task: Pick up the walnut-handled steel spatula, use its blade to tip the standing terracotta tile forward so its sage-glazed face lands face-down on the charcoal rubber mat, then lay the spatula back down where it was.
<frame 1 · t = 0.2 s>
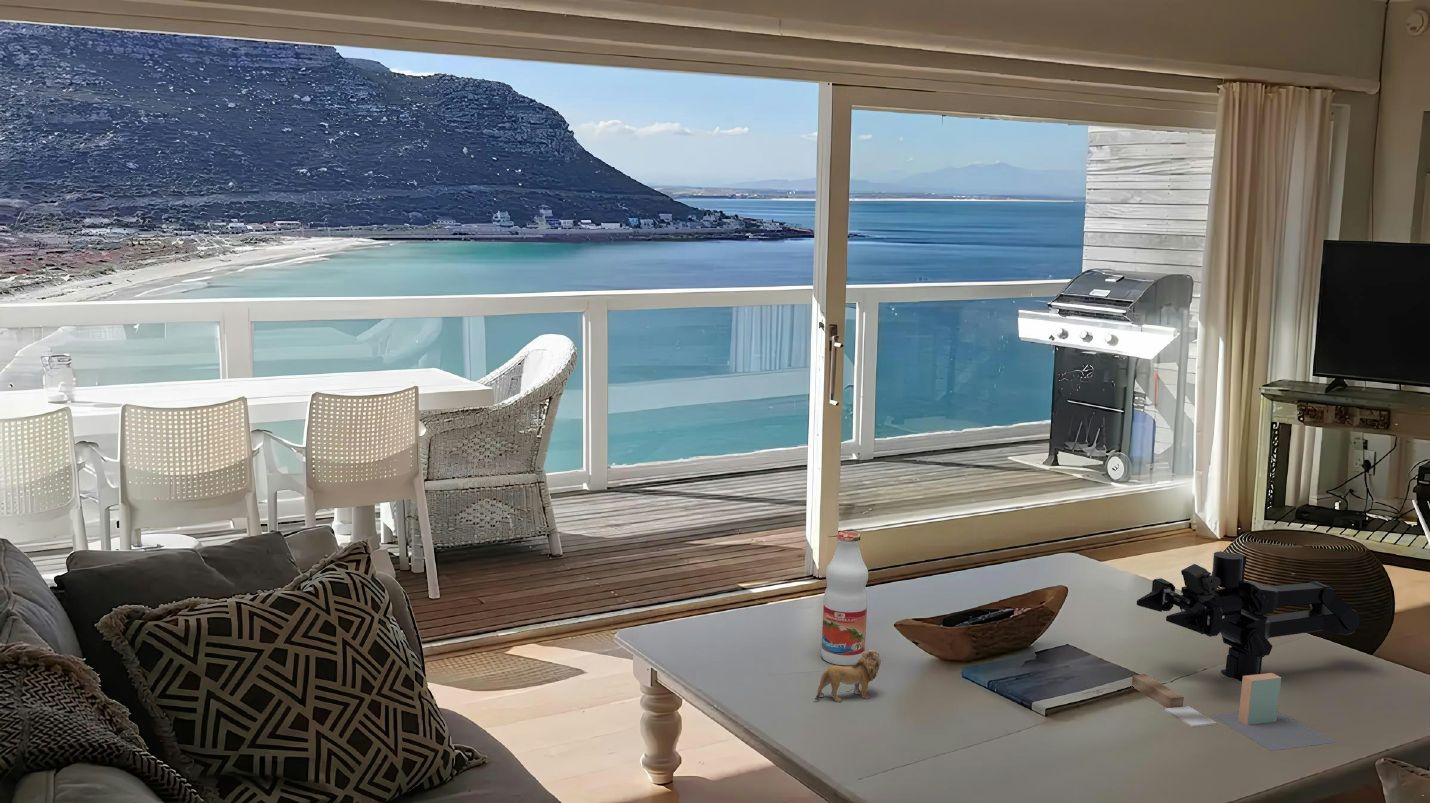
hand: (1151, 610, 238), 17 cm above the table, fingers open, 9 cm apart
lion figurine: (847, 696, 231), on the table
tile: (1257, 720, 225), resting on mat
mat: (1270, 730, 221), on the table
spatula: (1156, 699, 235), on the table
fruit juice: (842, 659, 251), on the table
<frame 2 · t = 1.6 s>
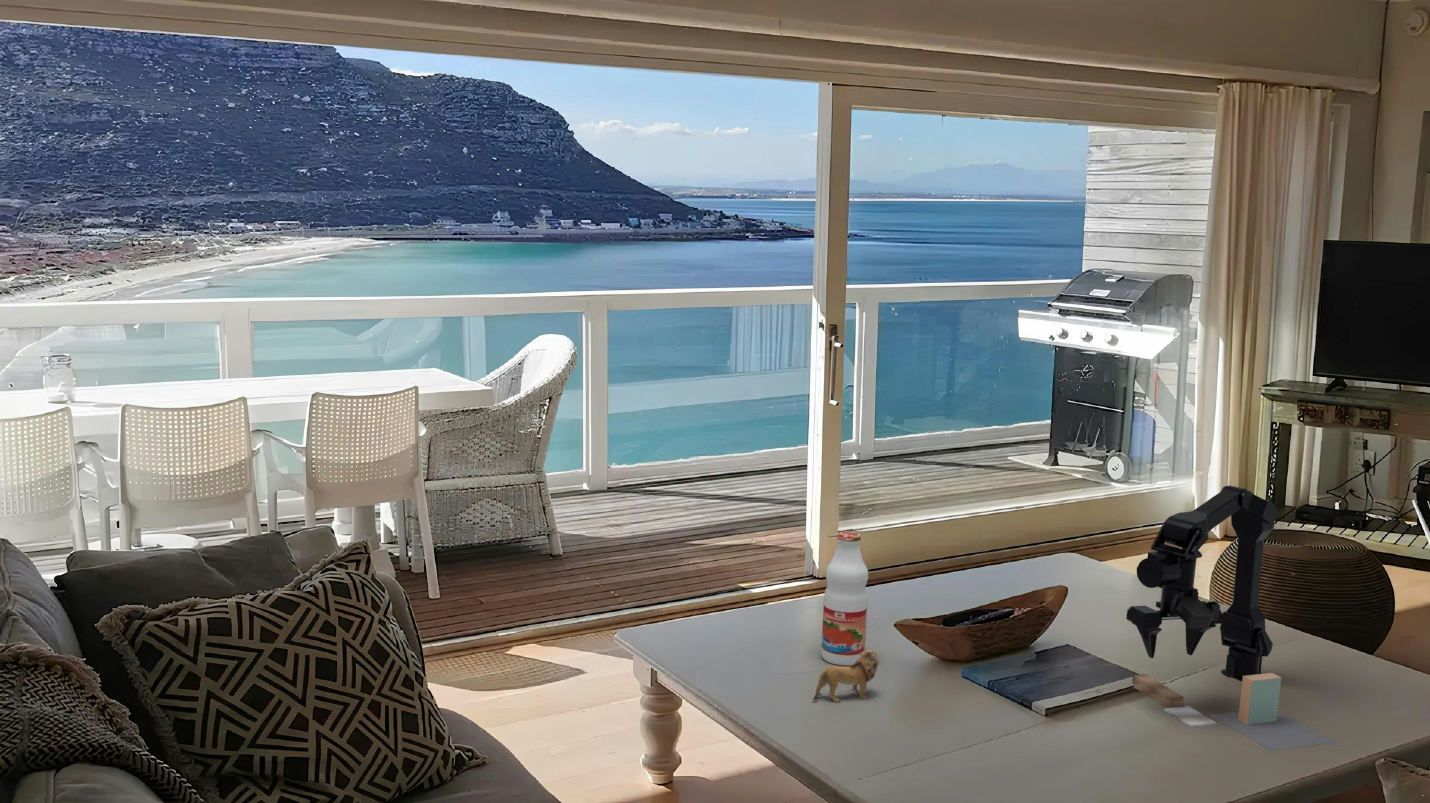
hand: (1170, 656, 230), 10 cm above the table, fingers open, 9 cm apart
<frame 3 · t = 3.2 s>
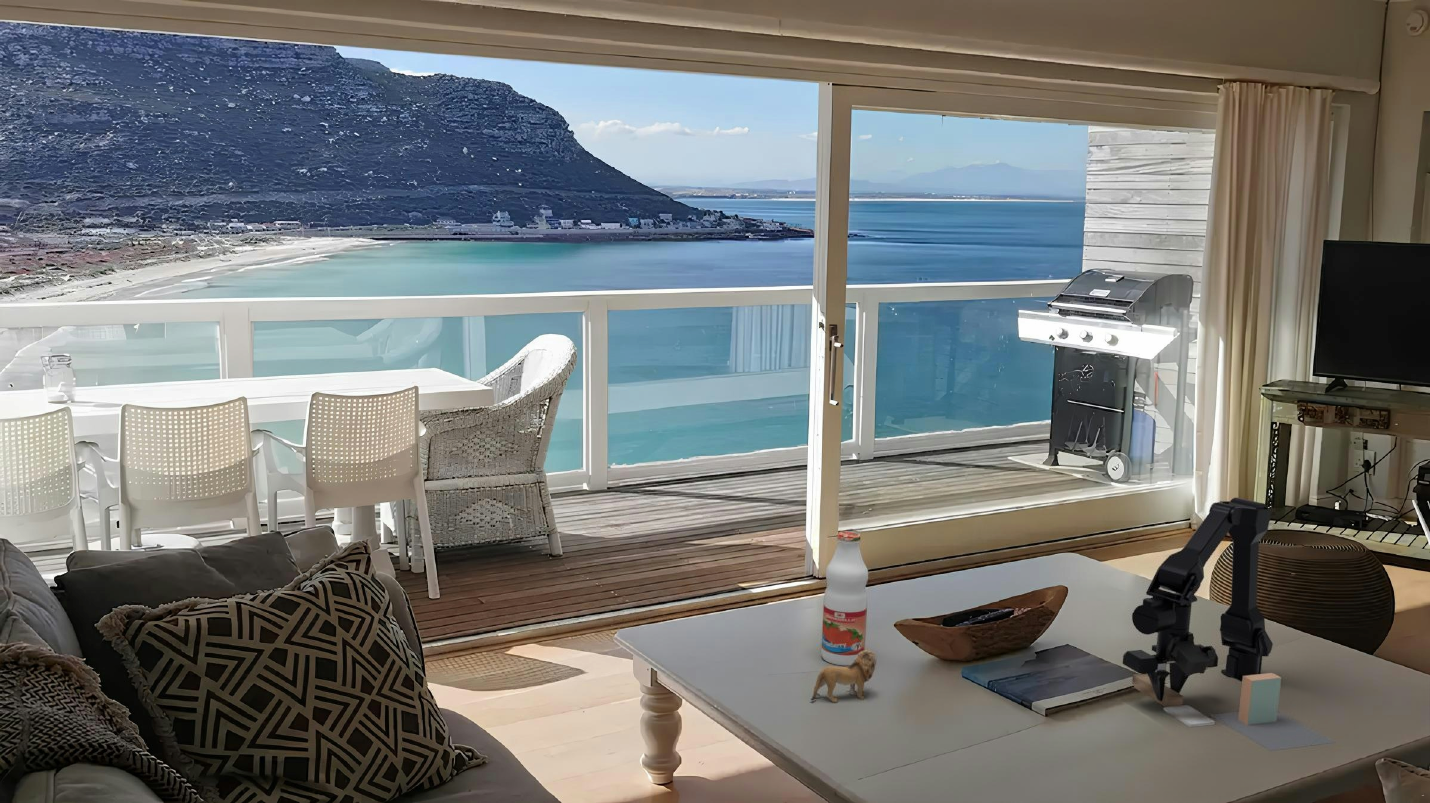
hand: (1166, 699, 232), 1 cm above the table, fingers closed on spatula, 3 cm apart
spatula: (1156, 698, 235), on the table, touching gripper
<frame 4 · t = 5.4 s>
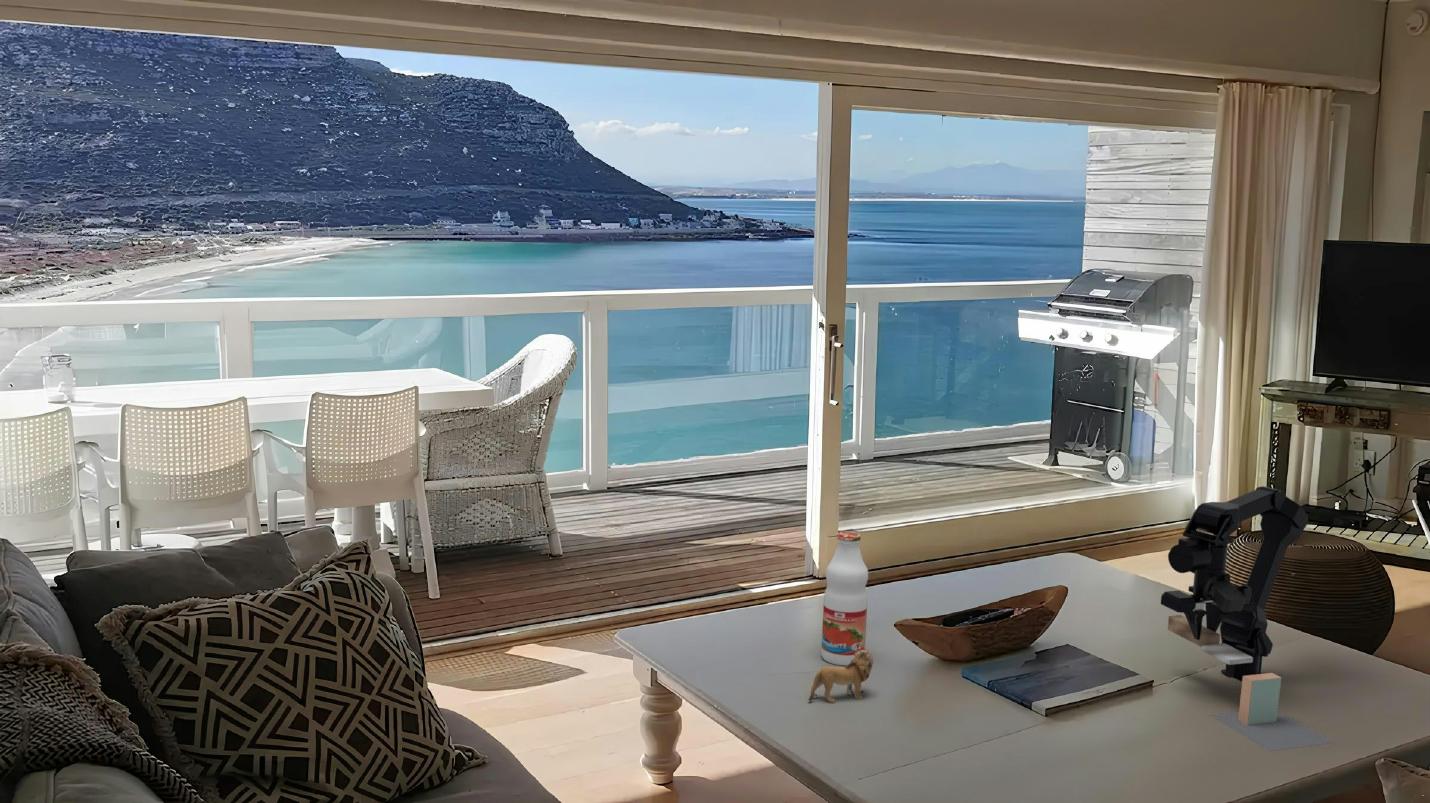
hand: (1203, 638, 238), 11 cm above the table, fingers closed on spatula, 3 cm apart
spatula: (1192, 638, 242), point 10 cm above the table, touching gripper
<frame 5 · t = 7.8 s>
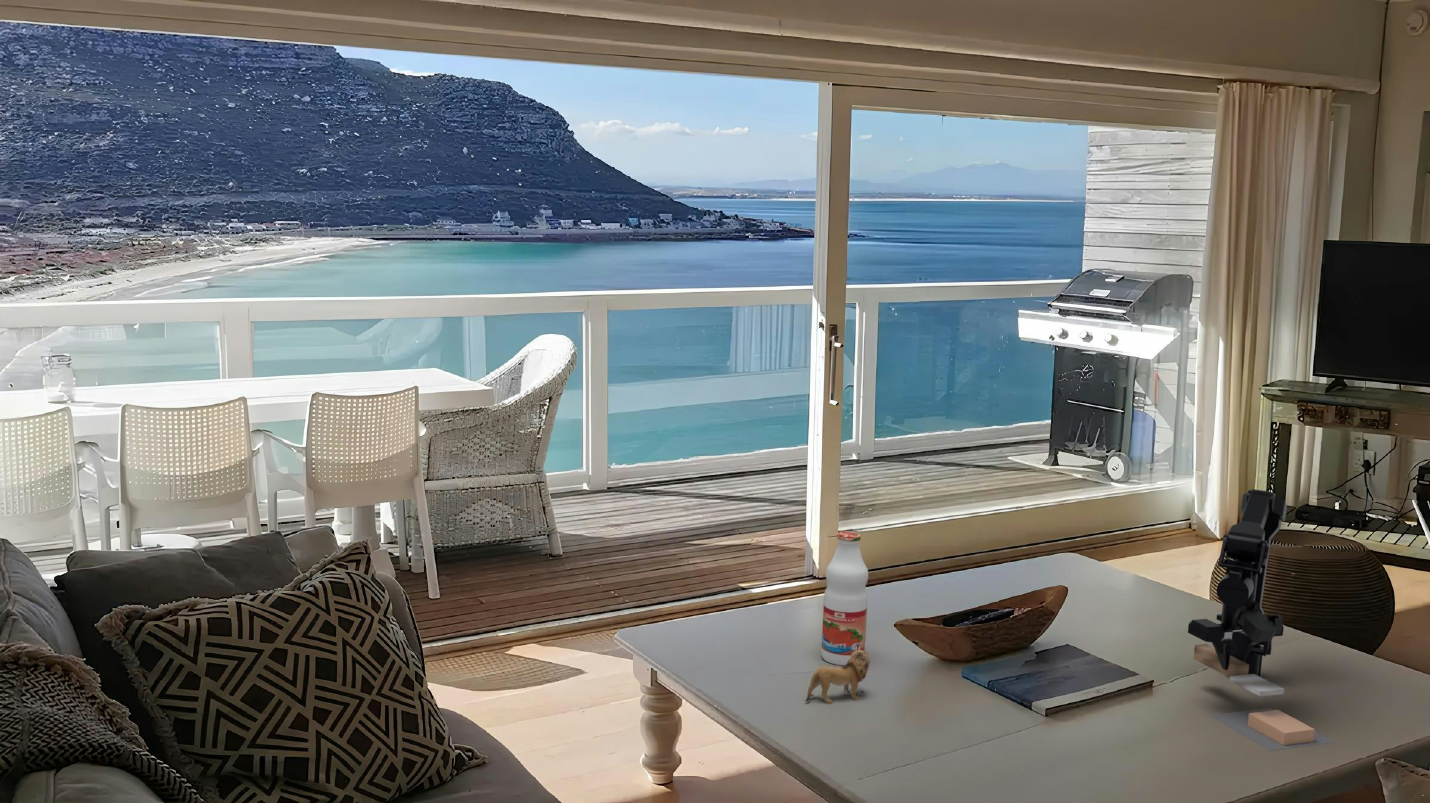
hand: (1231, 668, 231), 8 cm above the table, fingers closed on spatula, 3 cm apart
tile: (1263, 717, 223), point 2 cm above the table, tilted 90°, touching mat
spatula: (1220, 668, 234), point 7 cm above the table, touching gripper
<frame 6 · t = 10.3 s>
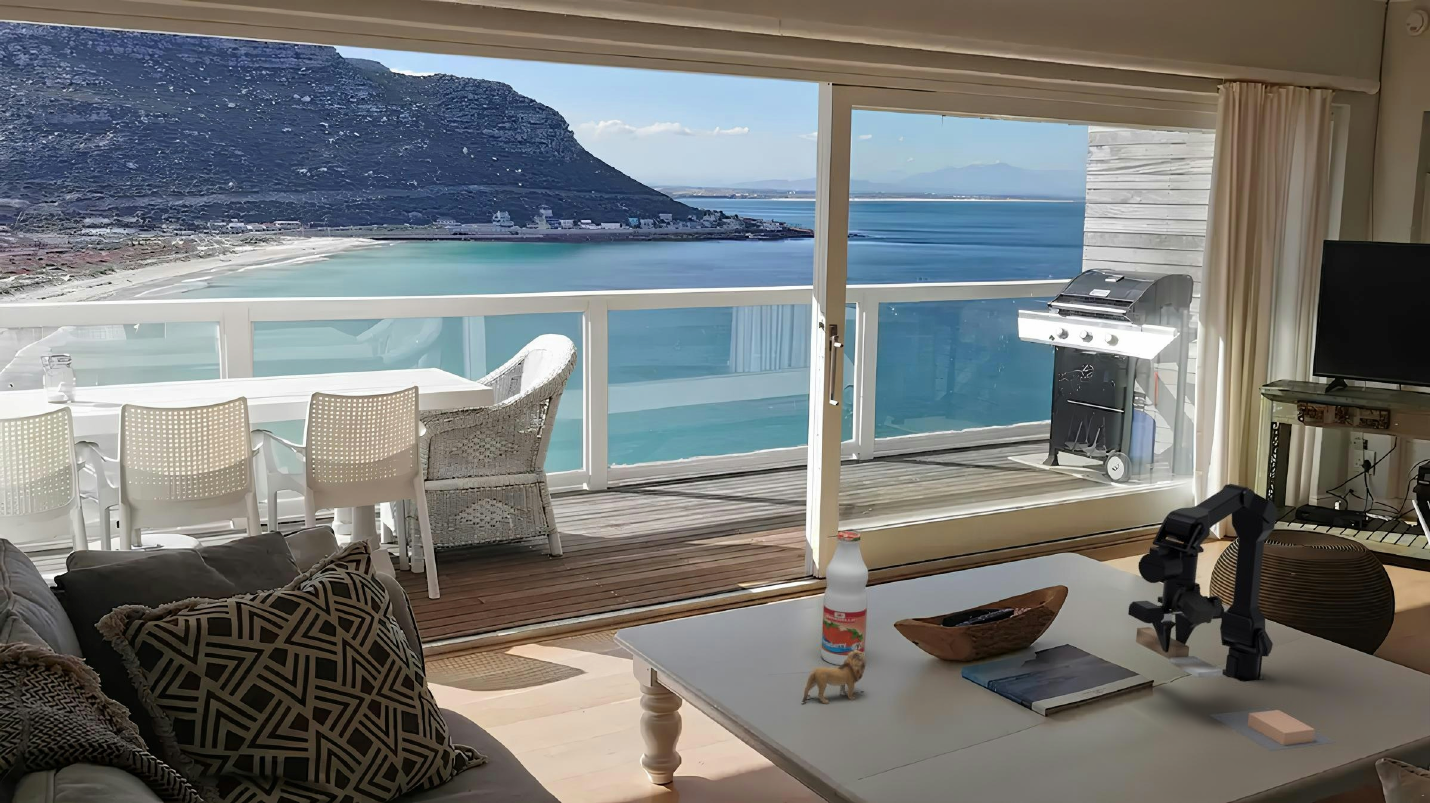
hand: (1172, 651, 230), 11 cm above the table, fingers closed on spatula, 3 cm apart
spatula: (1161, 651, 233), point 10 cm above the table, touching gripper
when the fingers open (2 cm above the table, at t = 12.2 s): spatula drops 1 cm, on the table.
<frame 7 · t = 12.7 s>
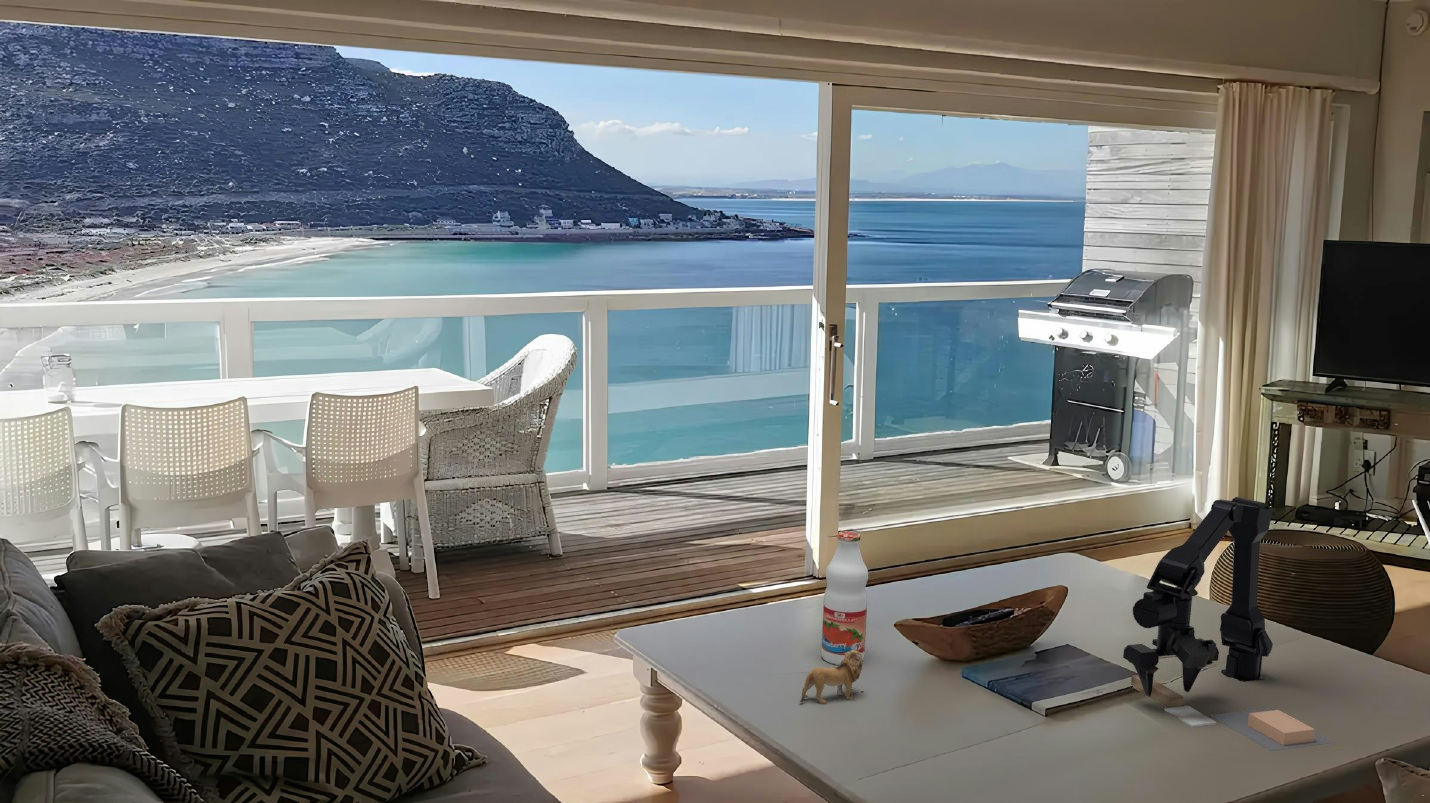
hand: (1167, 693, 231), 2 cm above the table, fingers open, 9 cm apart
spatula: (1155, 699, 235), on the table
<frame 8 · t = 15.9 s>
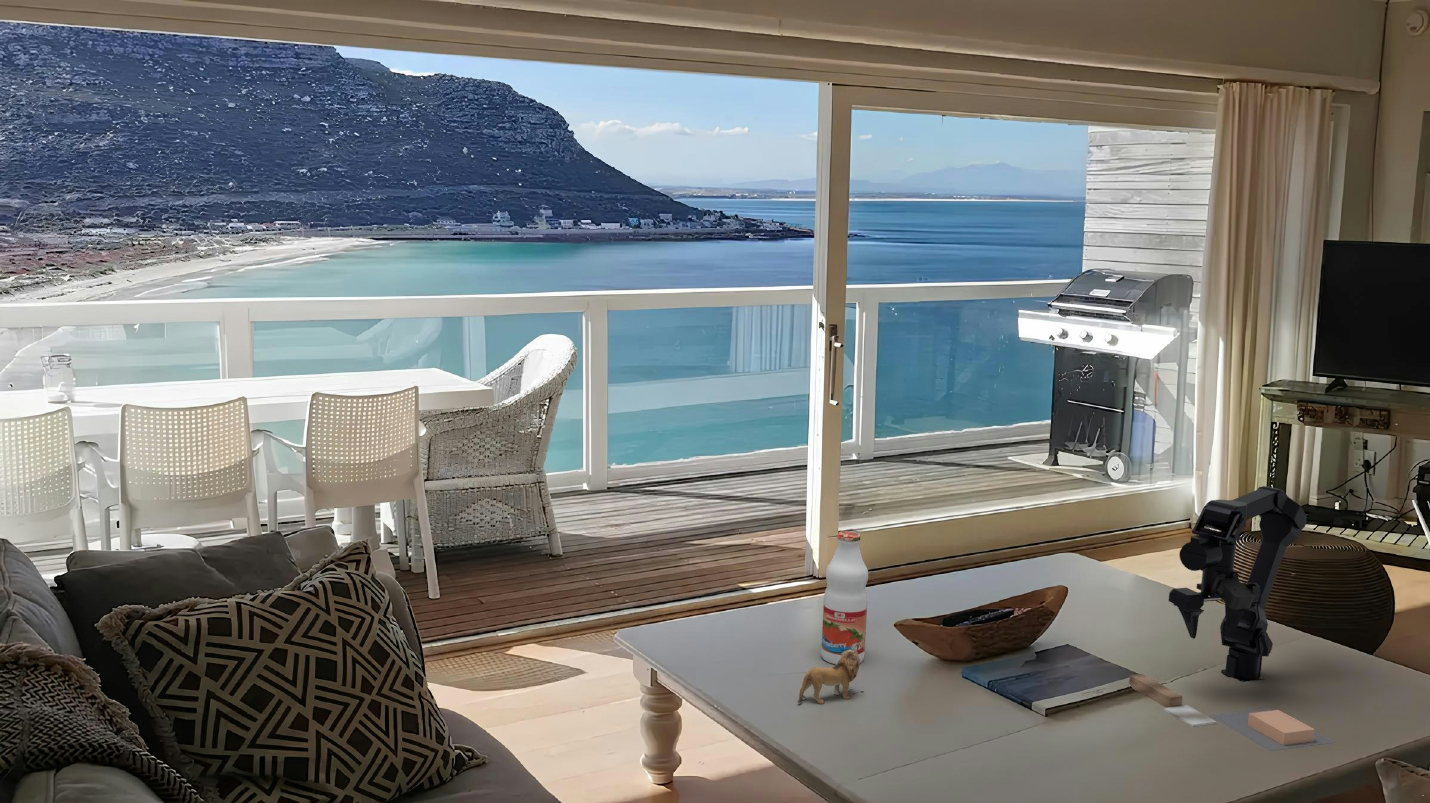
hand: (1211, 636, 238), 12 cm above the table, fingers open, 9 cm apart
at the end: tile tilted 90°; tile inside the target area (3.6 cm from its centre), point 1.7 cm above the table; spatula inside the target area (0.8 cm from its centre), on the table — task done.
